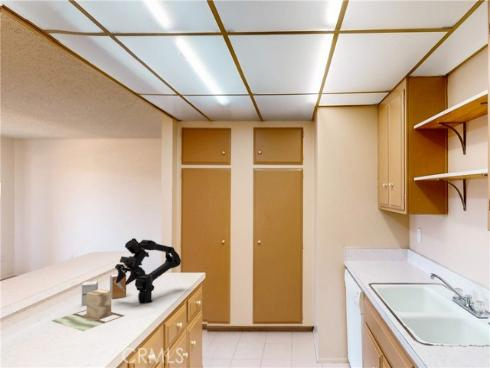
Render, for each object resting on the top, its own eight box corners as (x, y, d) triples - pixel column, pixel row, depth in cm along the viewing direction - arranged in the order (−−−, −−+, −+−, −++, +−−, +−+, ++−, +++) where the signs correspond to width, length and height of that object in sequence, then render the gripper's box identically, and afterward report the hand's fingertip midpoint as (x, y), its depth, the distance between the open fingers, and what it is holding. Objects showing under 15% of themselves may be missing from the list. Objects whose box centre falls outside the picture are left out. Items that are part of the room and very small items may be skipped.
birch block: (101, 310, 174) (101, 289, 174) (111, 313, 170) (111, 291, 170) (86, 315, 167) (86, 292, 168) (96, 318, 163) (96, 295, 163)
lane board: (93, 310, 180) (93, 307, 180) (125, 318, 167) (125, 315, 167) (51, 324, 161) (51, 320, 161) (83, 334, 148) (83, 331, 148)
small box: (112, 299, 199) (112, 276, 199) (109, 296, 204) (109, 274, 205) (126, 297, 203) (126, 274, 204) (123, 294, 209) (123, 272, 209)
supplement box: (81, 308, 183) (81, 284, 183) (83, 304, 190) (83, 281, 190) (96, 307, 185) (96, 283, 185) (98, 303, 192) (98, 280, 192)
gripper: (117, 249, 190) (100, 273, 180) (140, 251, 180) (123, 277, 170) (129, 260, 196) (113, 285, 187) (152, 263, 187) (136, 289, 177)
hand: (121, 283), depth 180 cm, fingers open, 7 cm apart
